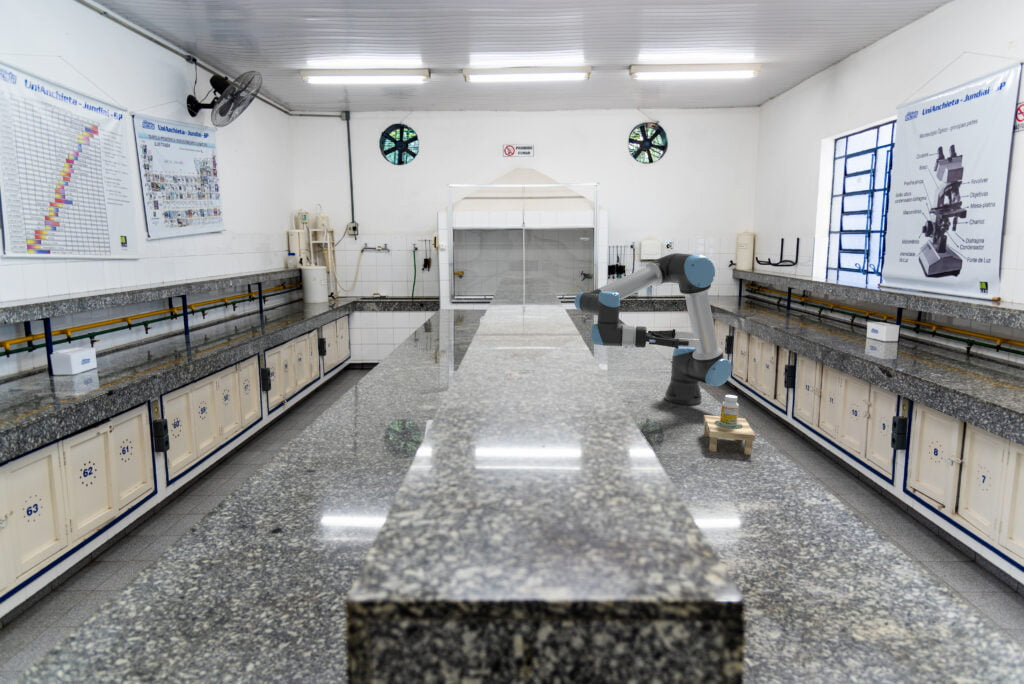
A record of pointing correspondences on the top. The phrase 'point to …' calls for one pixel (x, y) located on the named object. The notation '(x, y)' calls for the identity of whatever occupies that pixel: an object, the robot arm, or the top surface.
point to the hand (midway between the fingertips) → (696, 339)
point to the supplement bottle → (729, 411)
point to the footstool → (728, 432)
